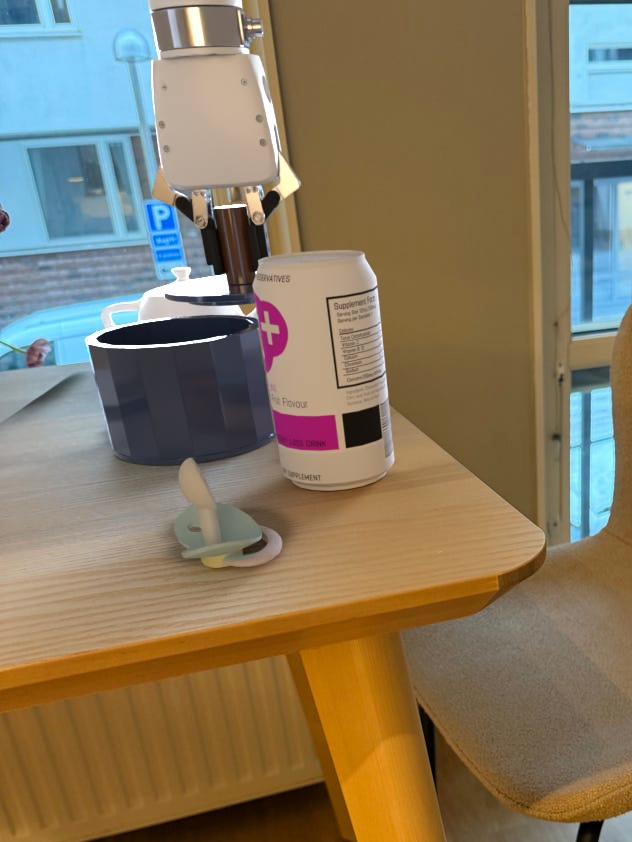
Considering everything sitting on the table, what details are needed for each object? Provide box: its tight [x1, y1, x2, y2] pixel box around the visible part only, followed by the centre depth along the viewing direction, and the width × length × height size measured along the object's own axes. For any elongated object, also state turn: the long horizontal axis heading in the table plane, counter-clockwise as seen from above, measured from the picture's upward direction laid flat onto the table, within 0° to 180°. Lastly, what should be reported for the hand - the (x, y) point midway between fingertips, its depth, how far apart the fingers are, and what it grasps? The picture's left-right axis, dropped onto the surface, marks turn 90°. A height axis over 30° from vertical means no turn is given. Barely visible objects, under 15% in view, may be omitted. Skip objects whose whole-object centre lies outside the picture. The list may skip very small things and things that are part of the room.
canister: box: [84, 315, 277, 466], centre depth 76 cm, size 14×14×9 cm
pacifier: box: [173, 458, 284, 569], centre depth 54 cm, size 7×6×6 cm
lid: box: [163, 204, 257, 306], centre depth 86 cm, size 15×15×8 cm
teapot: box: [100, 266, 258, 330], centre depth 106 cm, size 20×12×10 cm, turn 102°
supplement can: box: [252, 249, 395, 492], centre depth 65 cm, size 8×8×15 cm
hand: (240, 270), depth 86 cm, fingers closed on lid, 3 cm apart
